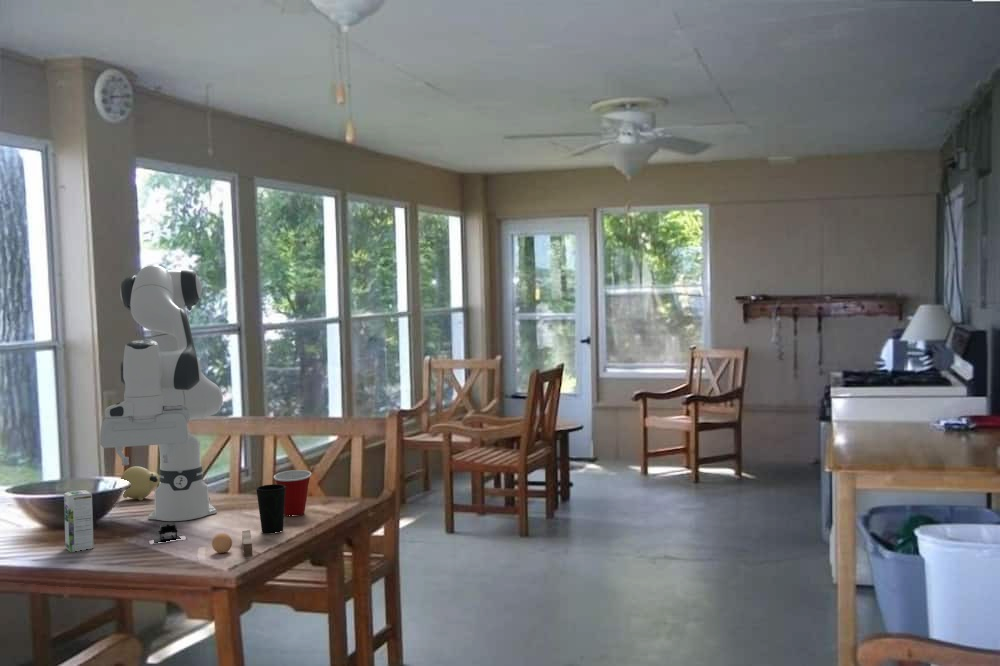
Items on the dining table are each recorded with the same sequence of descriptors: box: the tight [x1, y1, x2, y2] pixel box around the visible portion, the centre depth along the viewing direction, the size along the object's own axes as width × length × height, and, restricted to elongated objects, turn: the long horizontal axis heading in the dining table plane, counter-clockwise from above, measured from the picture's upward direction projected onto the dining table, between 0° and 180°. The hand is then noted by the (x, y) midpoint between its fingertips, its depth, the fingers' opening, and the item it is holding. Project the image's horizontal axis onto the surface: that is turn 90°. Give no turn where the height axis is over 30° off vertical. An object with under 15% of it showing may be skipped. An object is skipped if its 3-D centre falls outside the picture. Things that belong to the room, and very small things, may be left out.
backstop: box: [241, 529, 253, 557], centre depth 235 cm, size 14×2×3 cm, turn 17°
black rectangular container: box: [152, 522, 181, 543], centre depth 246 cm, size 12×7×5 cm, turn 116°
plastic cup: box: [273, 469, 312, 517], centre depth 271 cm, size 11×11×12 cm
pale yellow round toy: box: [120, 465, 161, 501], centre depth 299 cm, size 10×12×11 cm
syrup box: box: [63, 489, 95, 553], centre depth 239 cm, size 6×6×14 cm
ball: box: [211, 532, 233, 554], centre depth 232 cm, size 5×5×5 cm
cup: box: [256, 483, 286, 534], centre depth 252 cm, size 8×8×12 cm
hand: (146, 463), depth 228 cm, fingers open, 8 cm apart
